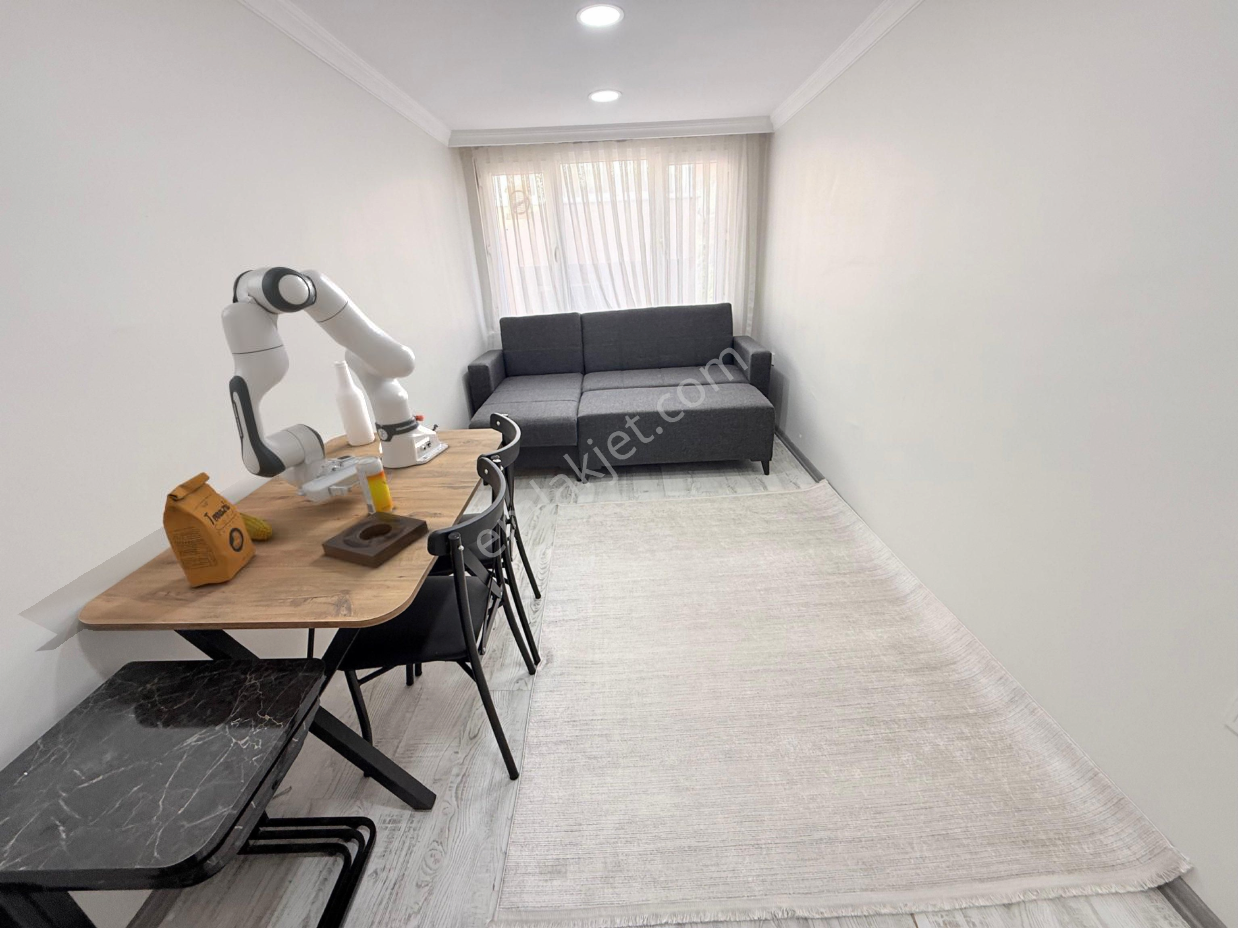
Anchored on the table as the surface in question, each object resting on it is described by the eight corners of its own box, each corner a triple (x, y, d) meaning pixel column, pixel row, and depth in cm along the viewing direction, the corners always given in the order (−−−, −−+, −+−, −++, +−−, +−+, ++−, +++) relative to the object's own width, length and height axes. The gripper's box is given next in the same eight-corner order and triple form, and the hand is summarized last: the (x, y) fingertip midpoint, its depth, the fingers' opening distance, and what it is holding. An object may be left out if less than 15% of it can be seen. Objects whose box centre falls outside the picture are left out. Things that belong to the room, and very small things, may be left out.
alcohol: (366, 436, 189) (345, 358, 177) (380, 440, 184) (358, 359, 173) (344, 444, 182) (320, 363, 170) (357, 447, 178) (334, 365, 166)
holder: (380, 521, 126) (377, 510, 125) (428, 531, 120) (426, 520, 119) (325, 554, 113) (321, 543, 112) (376, 568, 107) (372, 556, 106)
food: (206, 534, 125) (197, 513, 122) (229, 523, 130) (221, 503, 127) (263, 546, 118) (255, 525, 115) (285, 534, 122) (277, 513, 120)
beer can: (398, 506, 133) (385, 455, 127) (383, 518, 128) (368, 465, 122) (380, 505, 135) (365, 454, 129) (364, 516, 129) (348, 463, 123)
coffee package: (266, 553, 115) (231, 467, 106) (232, 586, 103) (190, 492, 95) (222, 557, 114) (183, 470, 106) (182, 590, 103) (135, 497, 94)
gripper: (287, 481, 125) (325, 489, 119) (355, 452, 142) (391, 457, 136) (295, 503, 127) (332, 511, 122) (361, 472, 144) (396, 478, 139)
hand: (364, 482), depth 129 cm, fingers open, 8 cm apart
